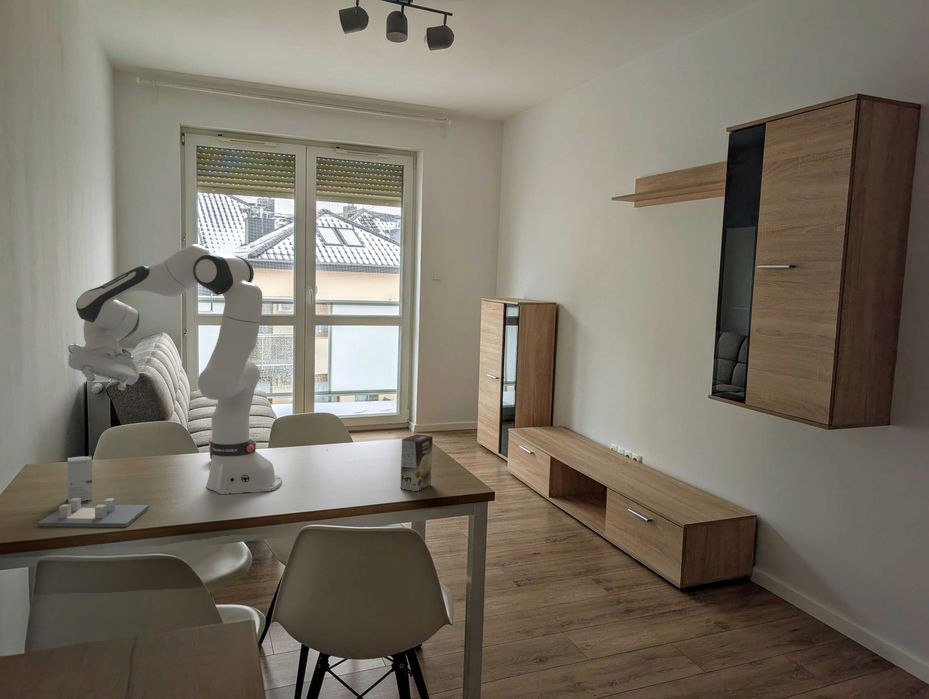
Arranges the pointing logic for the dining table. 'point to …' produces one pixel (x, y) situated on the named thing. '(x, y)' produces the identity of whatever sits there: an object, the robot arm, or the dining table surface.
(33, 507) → the dining table surface
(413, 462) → the coffee box
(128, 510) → the board
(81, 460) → the skincare box
